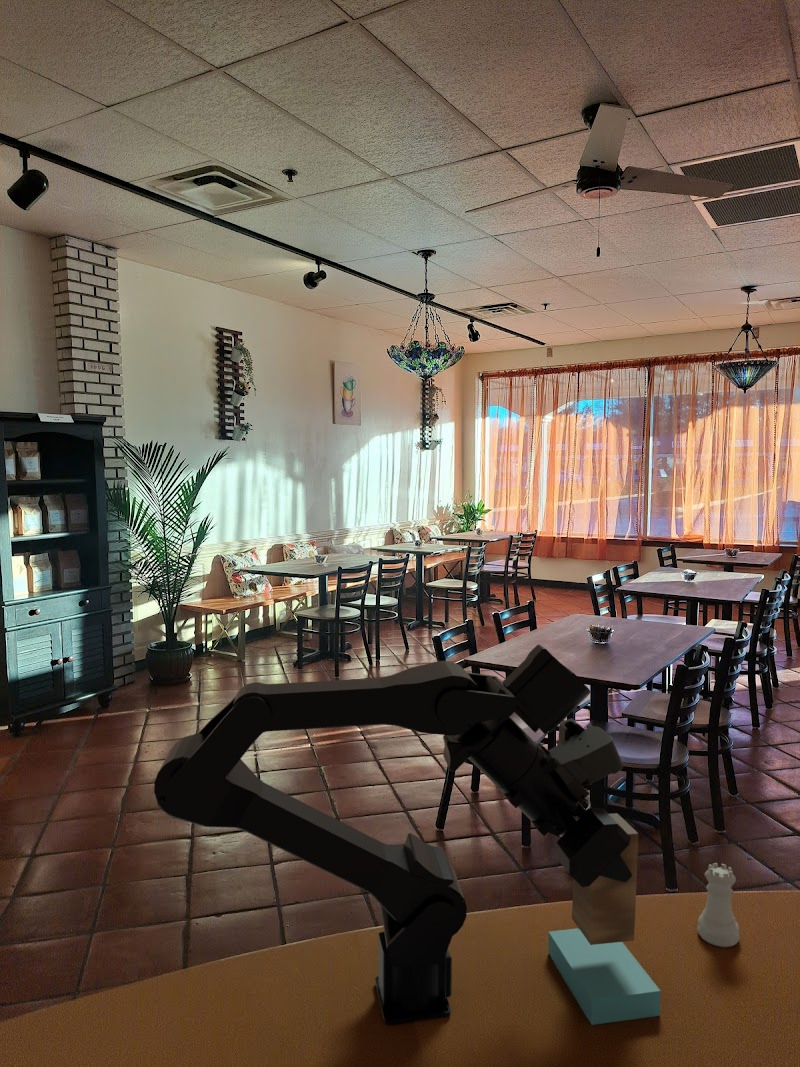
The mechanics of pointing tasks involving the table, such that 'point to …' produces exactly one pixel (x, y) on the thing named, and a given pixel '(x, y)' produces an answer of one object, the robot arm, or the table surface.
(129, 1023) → the table surface
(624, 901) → the tan wooden block
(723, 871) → the rook chess piece
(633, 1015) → the base block
